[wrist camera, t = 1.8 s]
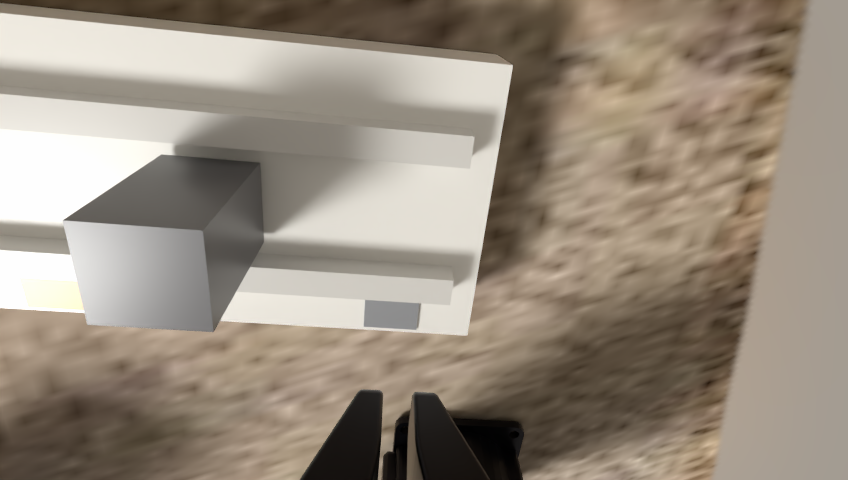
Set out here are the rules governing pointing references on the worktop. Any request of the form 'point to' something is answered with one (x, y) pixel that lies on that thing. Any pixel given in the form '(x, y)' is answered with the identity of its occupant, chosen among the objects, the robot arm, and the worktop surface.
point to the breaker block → (258, 158)
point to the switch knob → (168, 243)
